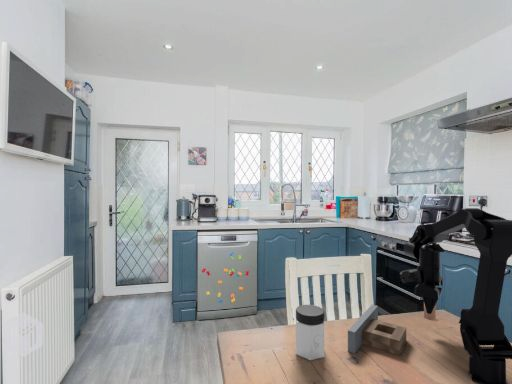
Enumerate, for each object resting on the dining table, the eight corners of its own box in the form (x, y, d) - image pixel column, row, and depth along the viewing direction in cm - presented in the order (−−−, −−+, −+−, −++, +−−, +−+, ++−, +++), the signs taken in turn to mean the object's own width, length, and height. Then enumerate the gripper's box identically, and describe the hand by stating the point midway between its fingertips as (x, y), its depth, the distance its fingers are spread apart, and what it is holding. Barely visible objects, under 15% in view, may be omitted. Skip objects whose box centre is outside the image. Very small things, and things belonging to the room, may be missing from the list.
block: (406, 340, 86) (406, 327, 86) (399, 355, 78) (399, 341, 78) (372, 330, 92) (372, 318, 92) (363, 343, 85) (363, 330, 85)
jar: (303, 362, 75) (303, 318, 75) (289, 347, 82) (289, 306, 83) (331, 356, 78) (331, 313, 78) (316, 342, 85) (315, 302, 86)
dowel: (436, 317, 90) (436, 296, 90) (435, 321, 88) (434, 299, 88) (424, 315, 92) (424, 293, 92) (423, 318, 90) (423, 296, 90)
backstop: (377, 323, 98) (377, 306, 98) (354, 353, 79) (354, 332, 79) (371, 321, 99) (371, 304, 99) (347, 351, 80) (347, 330, 80)
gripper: (407, 255, 103) (407, 297, 102) (395, 265, 88) (396, 314, 88) (443, 259, 96) (443, 305, 96) (437, 271, 81) (438, 325, 81)
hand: (429, 311), depth 90 cm, fingers closed on dowel, 3 cm apart
